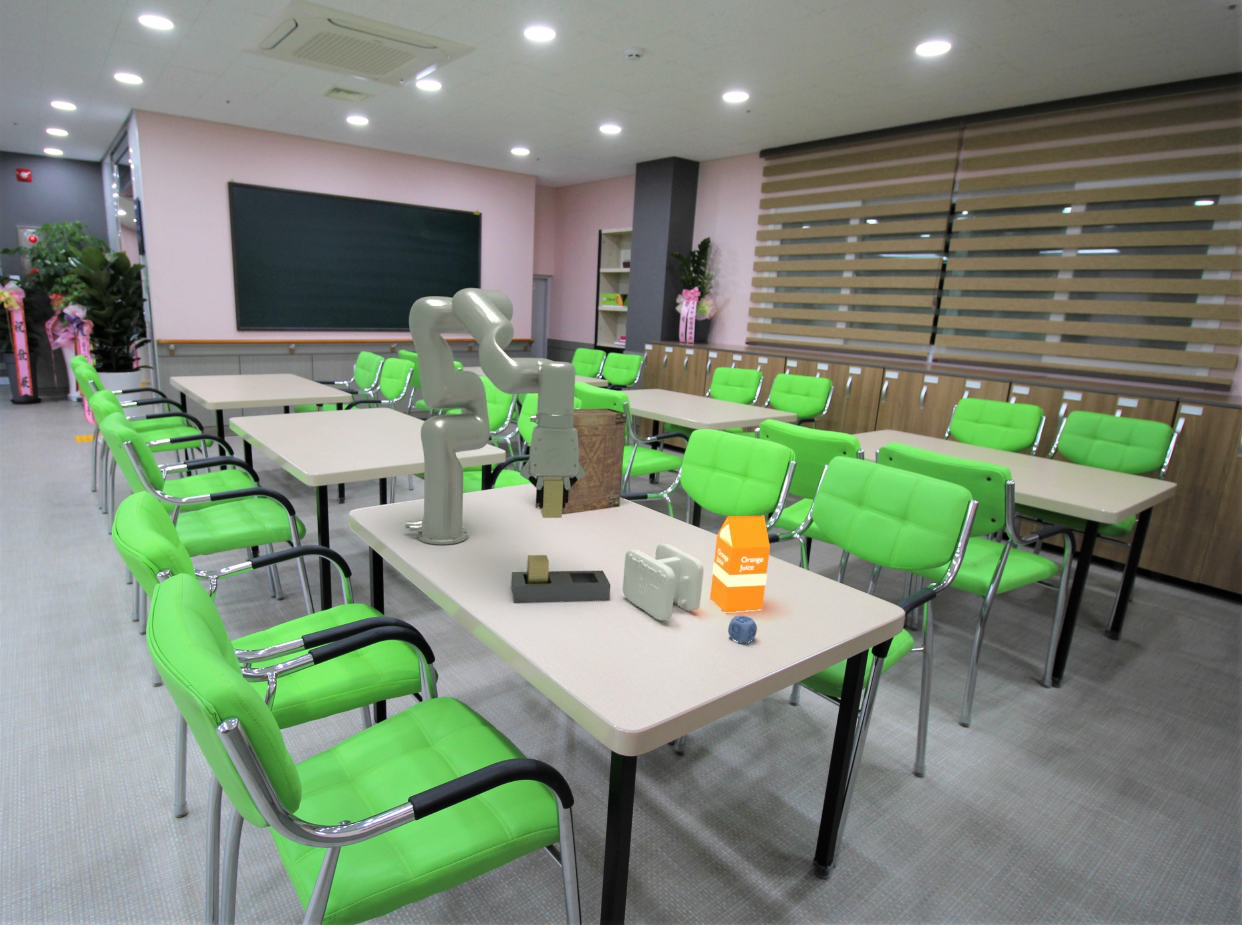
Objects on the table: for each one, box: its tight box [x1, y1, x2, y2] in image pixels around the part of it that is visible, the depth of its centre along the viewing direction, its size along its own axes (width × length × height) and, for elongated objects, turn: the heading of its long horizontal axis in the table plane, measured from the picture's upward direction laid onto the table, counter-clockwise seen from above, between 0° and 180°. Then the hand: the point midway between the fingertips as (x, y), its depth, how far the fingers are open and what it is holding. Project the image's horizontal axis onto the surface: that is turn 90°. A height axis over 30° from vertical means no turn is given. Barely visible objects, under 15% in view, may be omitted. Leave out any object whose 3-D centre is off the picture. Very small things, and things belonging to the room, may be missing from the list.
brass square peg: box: [540, 477, 563, 519], centre depth 143 cm, size 4×4×8 cm
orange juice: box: [709, 515, 771, 612], centre depth 143 cm, size 8×9×20 cm
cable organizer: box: [622, 543, 705, 621], centre depth 140 cm, size 15×11×12 cm
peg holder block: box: [510, 554, 611, 604], centre depth 143 cm, size 20×8×8 cm, turn 103°
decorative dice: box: [727, 615, 758, 644], centre depth 129 cm, size 4×4×4 cm
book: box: [535, 408, 628, 515], centre depth 206 cm, size 25×9×30 cm, turn 128°
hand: (551, 505), depth 144 cm, fingers closed on brass square peg, 4 cm apart
